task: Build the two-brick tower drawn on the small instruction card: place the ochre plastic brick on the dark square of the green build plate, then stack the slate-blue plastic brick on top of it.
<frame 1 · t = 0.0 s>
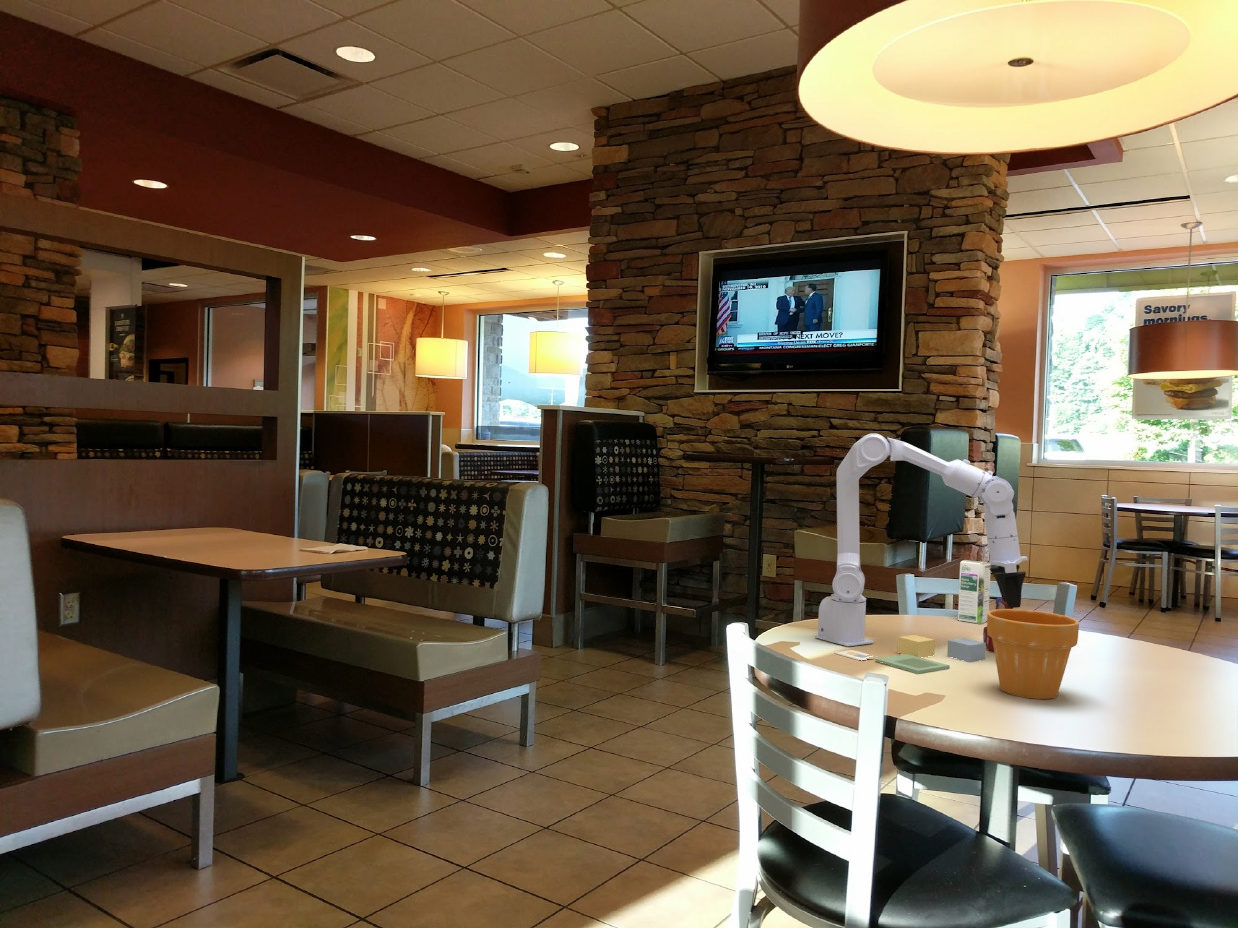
hand: (1011, 604, 179), 11 cm above the table, tool pointing down, fingers open, 7 cm apart
syrup box: (973, 621, 216), on the table
brick B: (966, 659, 176), on the table
instruction card: (856, 655, 175), on the table
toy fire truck: (1002, 649, 186), on the table
flower pot: (1029, 693, 152), on the table
brick A: (915, 655, 178), on the table
build plate: (911, 665, 169), on the table
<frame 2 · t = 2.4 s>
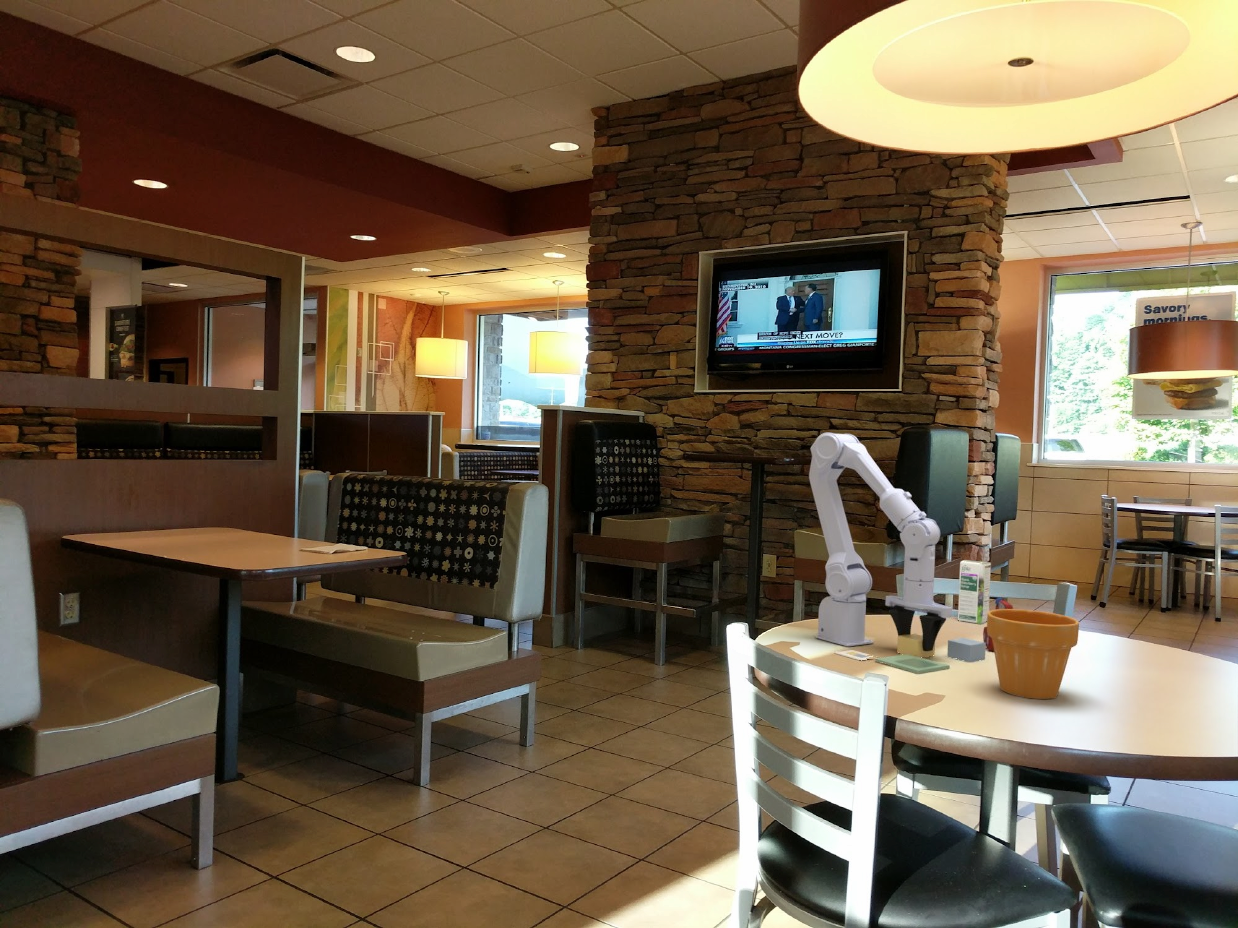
hand: (916, 647, 178), 1 cm above the table, tool pointing down, fingers closed on brick A, 5 cm apart
brick A: (915, 654, 178), on the table, touching gripper
everything else where it was.
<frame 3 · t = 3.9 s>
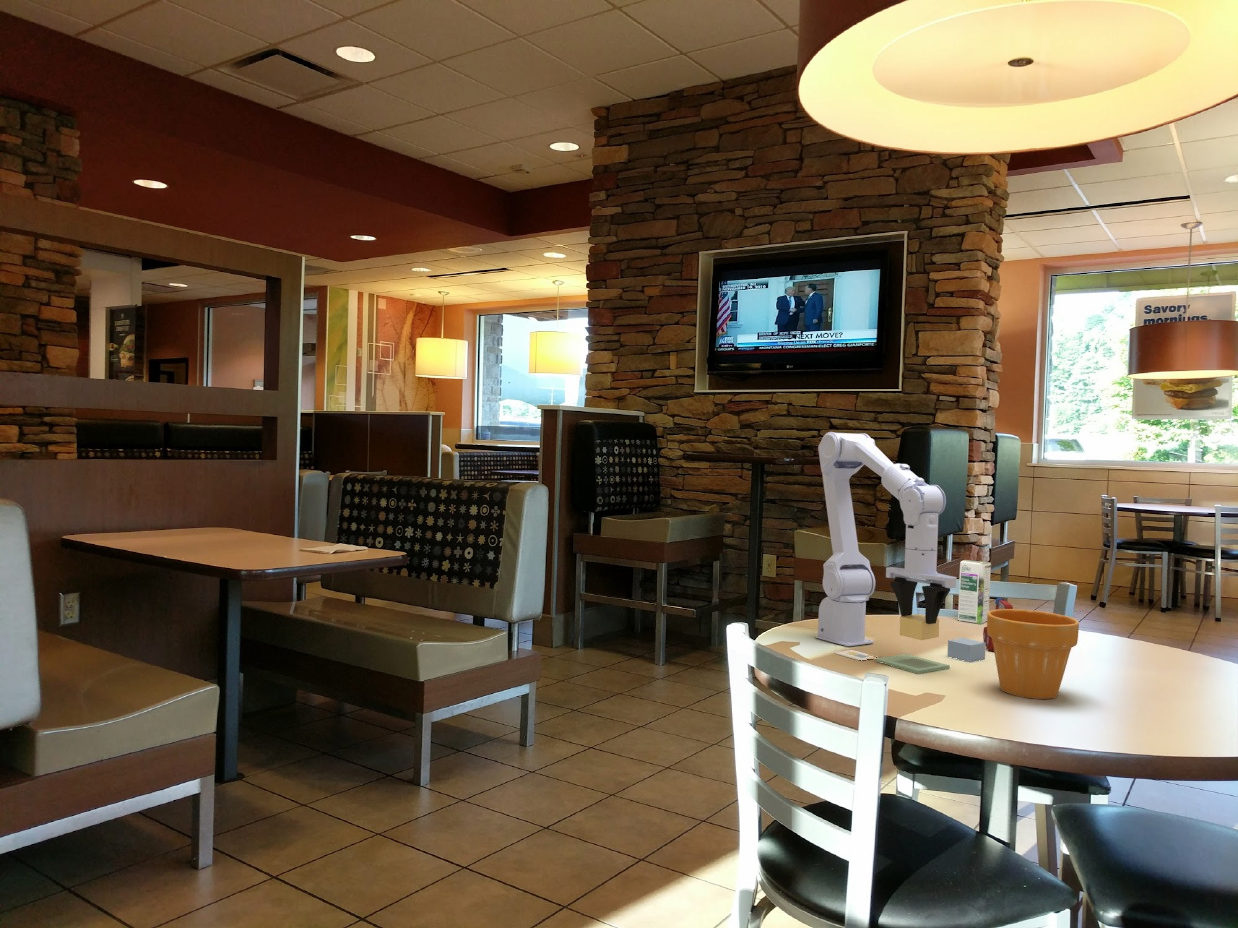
hand: (918, 620, 169), 8 cm above the table, tool pointing down, fingers closed on brick A, 5 cm apart
brick A: (919, 635, 169), point 6 cm above the table, touching gripper
everything else where it was.
when the fingers open (3 cm above the table, at t = 5.5 s): brick A stays where it is, resting on build plate.
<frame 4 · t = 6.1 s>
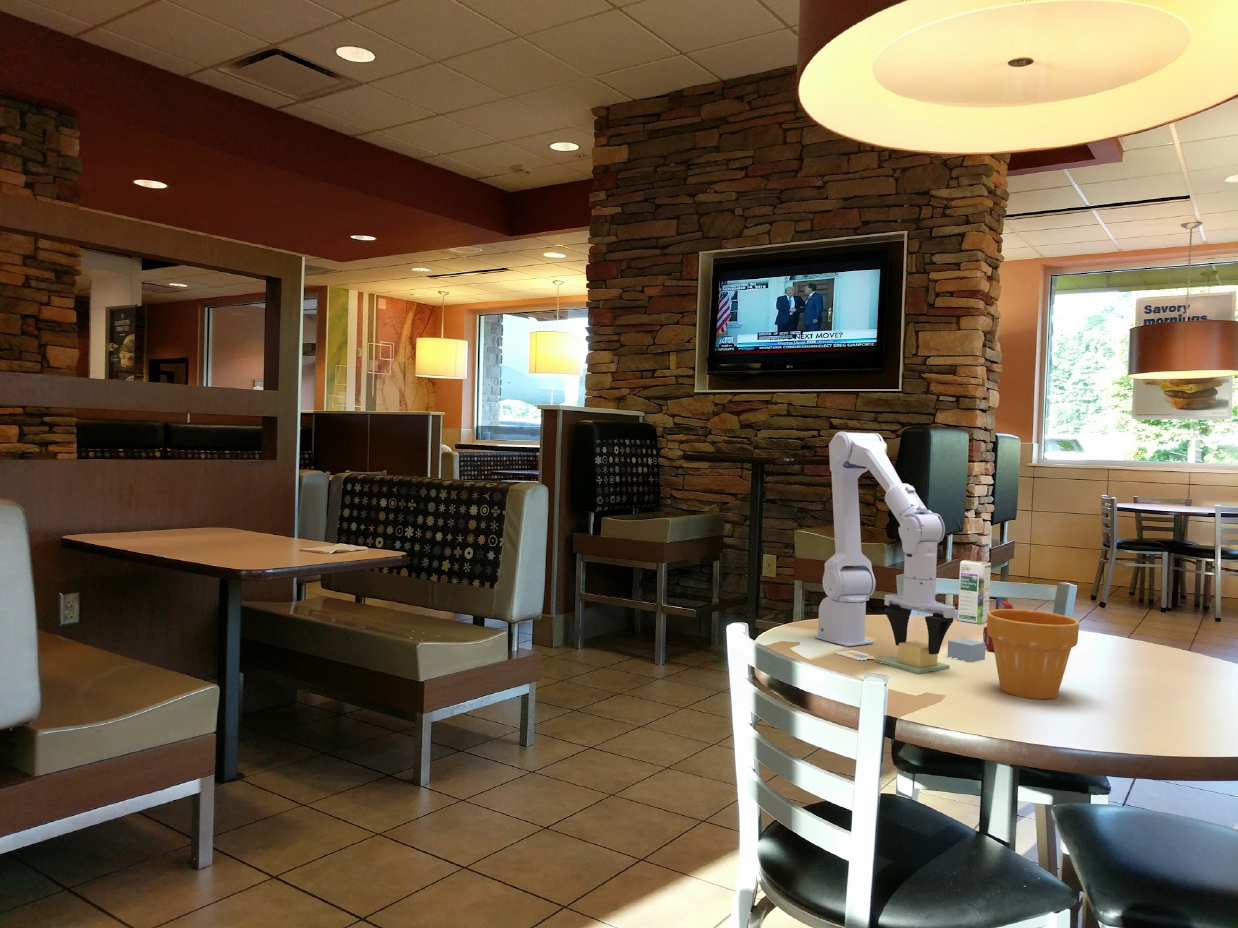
hand: (916, 649, 168), 3 cm above the table, tool pointing down, fingers open, 7 cm apart
brick A: (917, 662, 168), point 1 cm above the table, touching build plate
everything else where it was.
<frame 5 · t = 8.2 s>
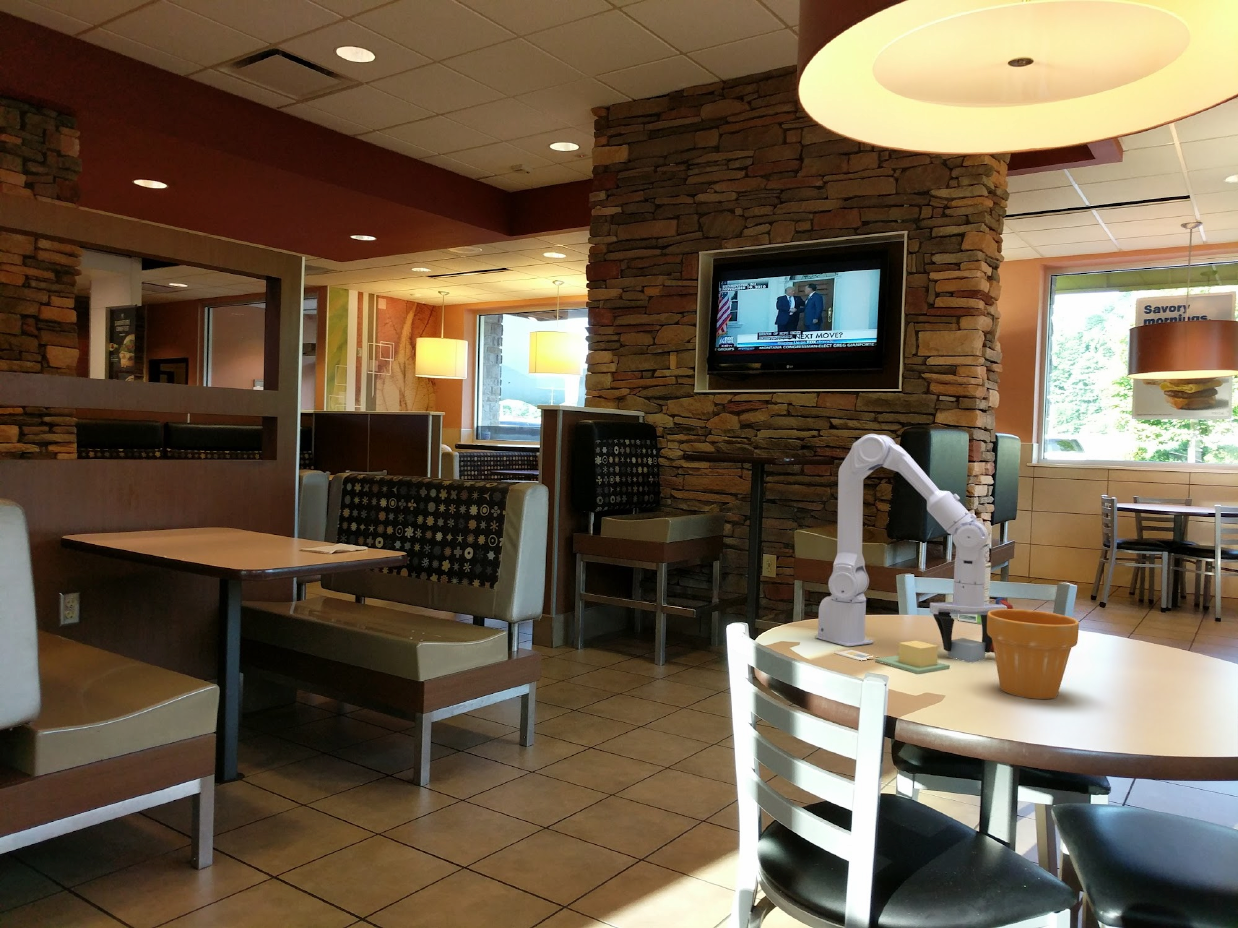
hand: (966, 650, 176), 1 cm above the table, tool pointing down, fingers closed on brick B, 7 cm apart
brick B: (966, 659, 176), on the table, touching gripper
everything else where it was.
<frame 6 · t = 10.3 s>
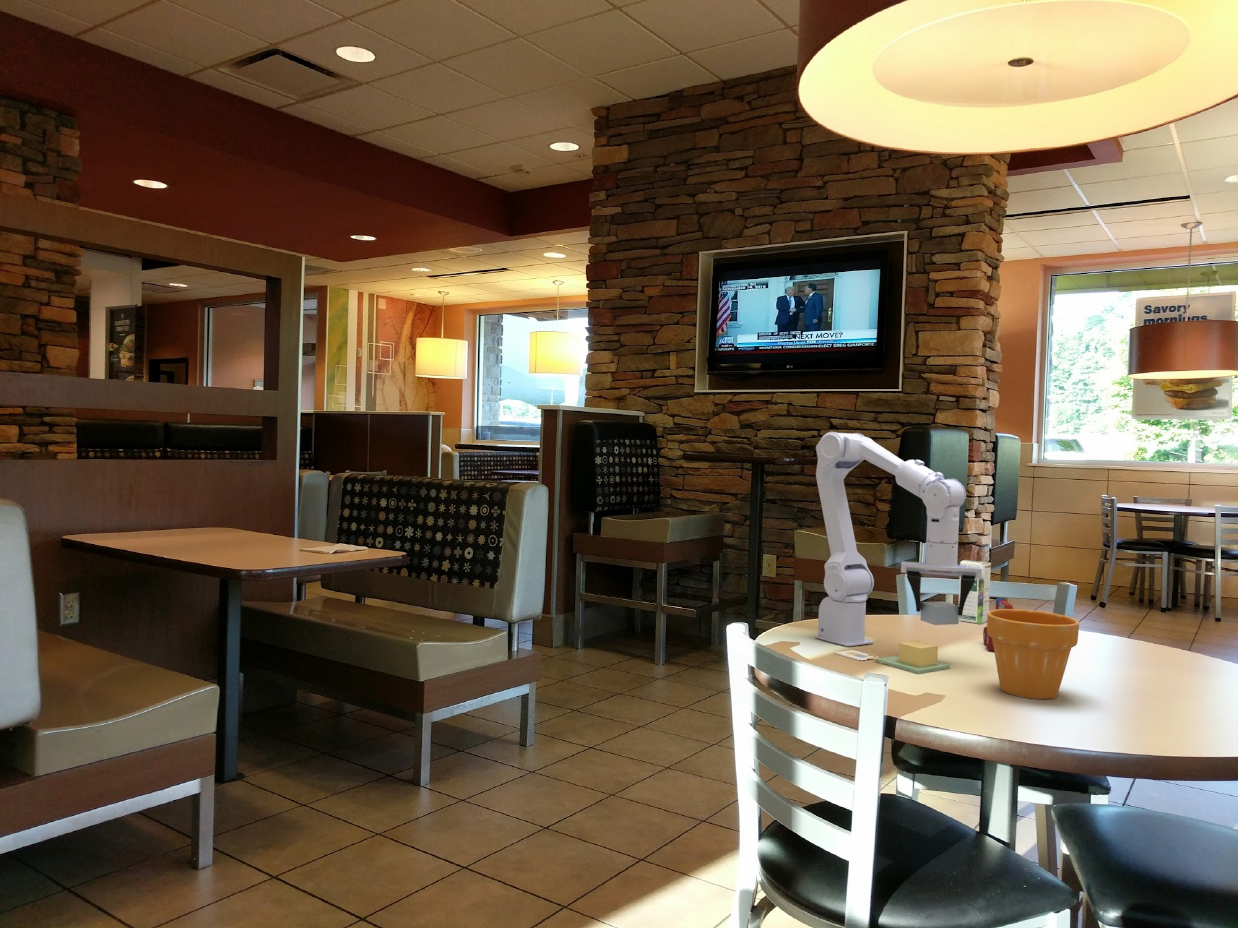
hand: (939, 612, 171), 10 cm above the table, tool pointing down, fingers closed on brick B, 7 cm apart
brick B: (939, 622, 172), point 8 cm above the table, touching gripper
everything else where it was.
when the fingers open (7 cm above the table, at t = 12.1 s): brick B stays where it is, resting on brick A.
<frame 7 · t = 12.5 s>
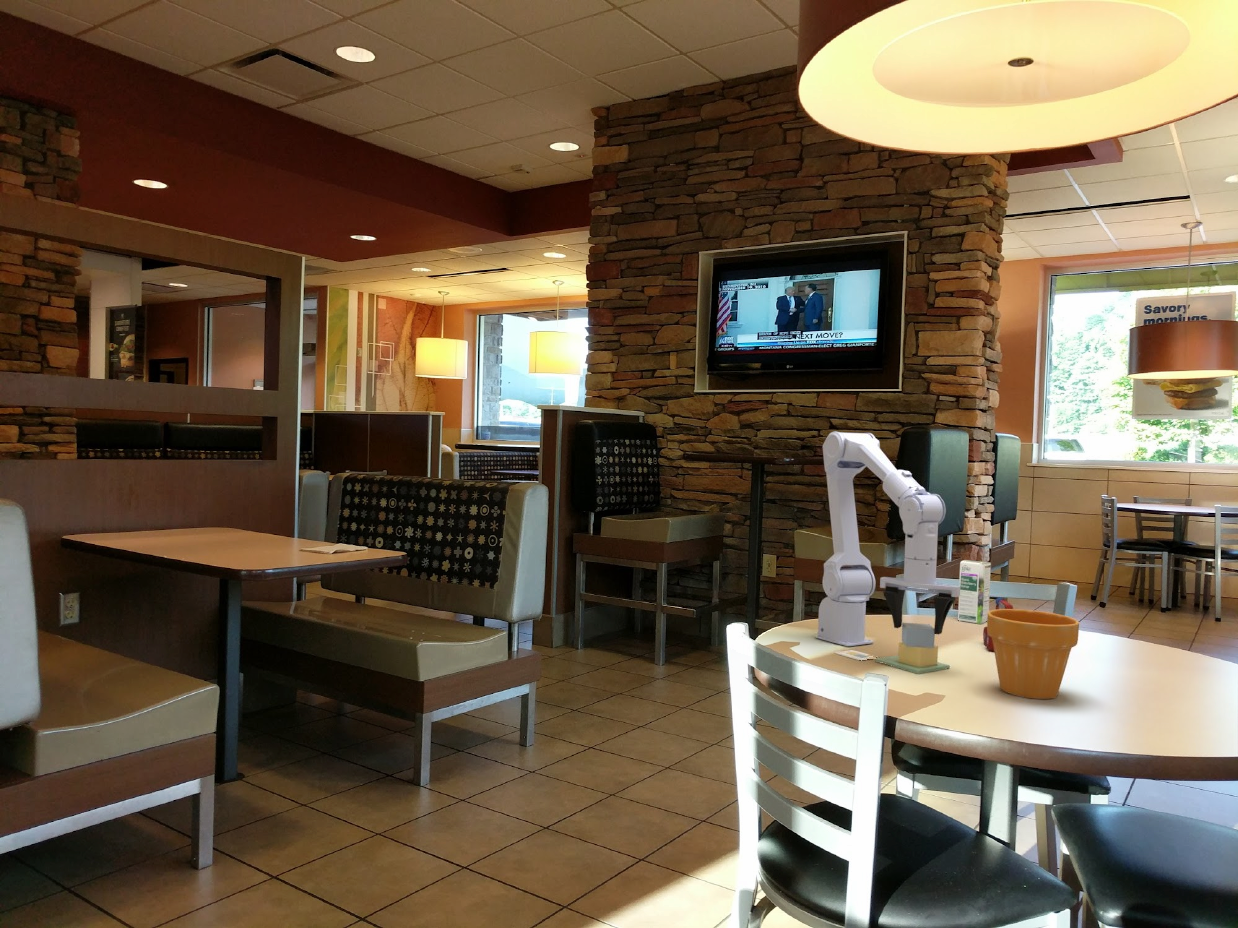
hand: (917, 630, 168), 7 cm above the table, tool pointing down, fingers open, 7 cm apart
brick B: (917, 644, 168), point 4 cm above the table, touching brick A
brick A: (917, 662, 168), point 1 cm above the table, touching brick B, build plate
everything else where it was.
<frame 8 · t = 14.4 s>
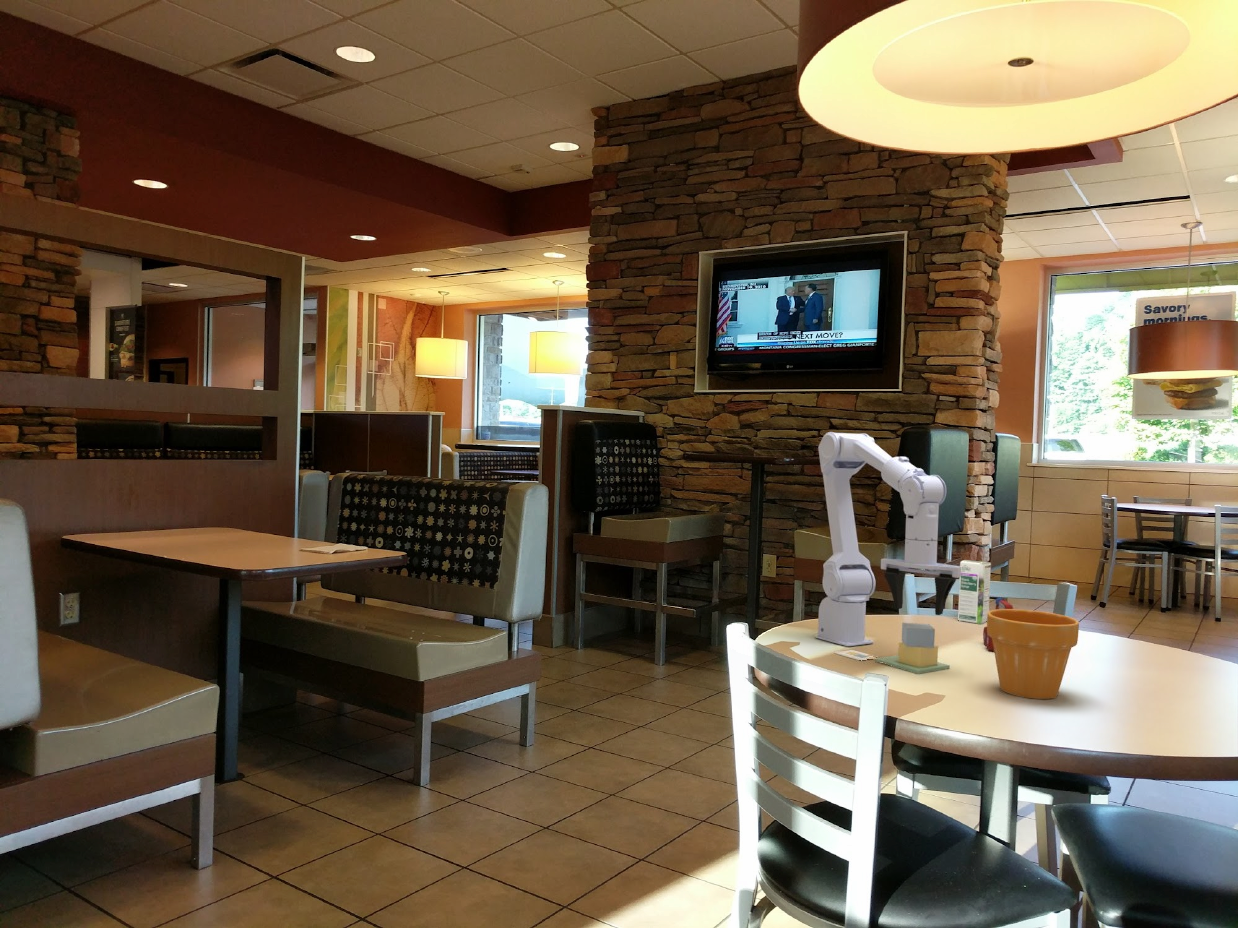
hand: (918, 611, 168), 10 cm above the table, tool pointing down, fingers open, 7 cm apart
nothing on the table moved.
at the end: brick A 0.4 cm from the target spot, point 0.6 cm above the table; brick B 0.1 cm off-centre on the brick A, point 3.5 cm above the brick A's base; brick B tilted 0° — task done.
